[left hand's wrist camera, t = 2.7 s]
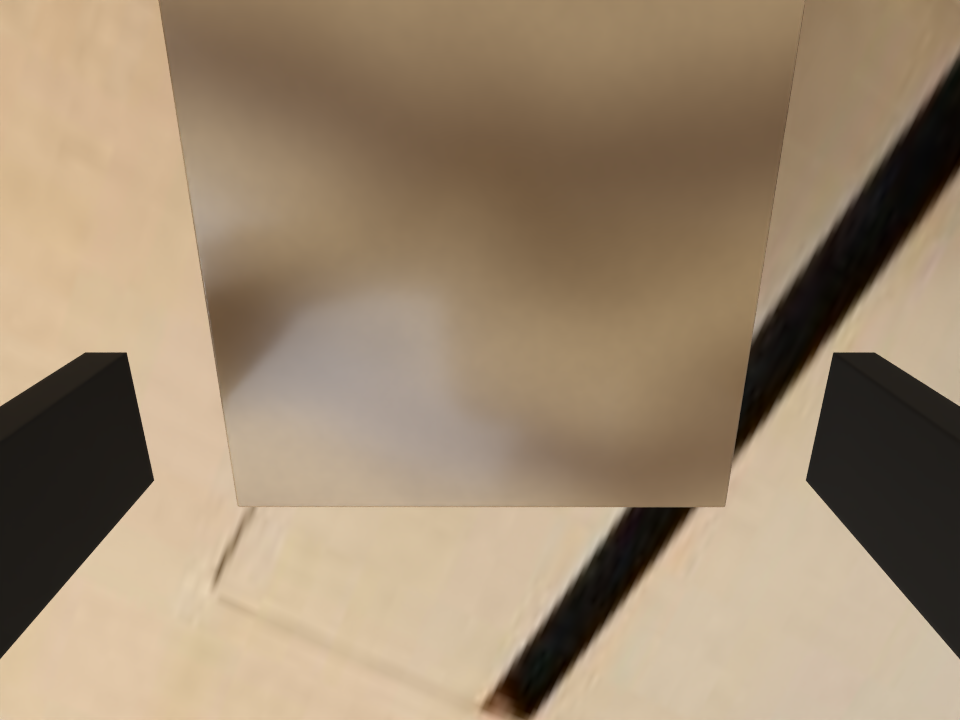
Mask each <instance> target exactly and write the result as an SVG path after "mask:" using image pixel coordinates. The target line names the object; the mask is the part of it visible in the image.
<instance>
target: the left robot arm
mask: <svg viewBox="0 0 960 720" xmlns="http://www.w3.org/2000/svg"><path fill="white" fill-rule="evenodd" d="M153 481H154V478H153V473H152V468H151V464H150V459H149V454H148V450H147V445H146V441H145V436H144V431H143V427H142V422H141V417H140V413H139V408H138V403H137V399H136V394H135V389H134V385H133V380H132V375H131V371H130V366H129V362H128V357H127V353H84V354H82V355H81V356H79V357H78V358H76V359H74V360H73V361H71V362H70V363H68V364H67V365H65V366H63V367H62V368H60V369H59V370H57V371H55V372H54V373H52V374H51V375H49V376H48V377H46V378H44V379H43V380H41V381H40V382H38V383H37V384H35V385H33V386H32V387H30V388H29V389H27V390H26V391H24V392H22V393H21V394H19V395H18V396H16V397H14V398H13V399H11V400H10V401H8V402H7V403H5V404H3V405H2V406H0V659H1V657H2V656H3V655H4V654H5V653H6V652H7V650H8V649H9V648H10V647H11V646H12V645H13V644H14V642H15V641H16V640H17V639H18V638H19V637H20V635H21V634H22V633H23V632H24V631H25V630H26V628H27V627H28V626H29V625H30V624H31V623H32V621H33V620H34V619H35V618H36V617H37V616H38V615H39V613H40V612H41V611H42V610H43V609H44V608H45V606H46V605H47V604H48V603H49V602H50V601H51V599H52V598H53V597H54V596H55V595H56V594H57V592H58V591H59V590H60V589H61V588H62V587H63V586H64V584H65V583H66V582H67V581H68V580H69V579H70V577H71V576H72V575H73V574H74V573H75V572H76V570H77V569H78V568H79V567H80V566H81V565H82V563H83V562H84V561H85V560H86V559H87V558H88V557H89V555H90V554H91V553H92V552H93V551H94V550H95V548H96V547H97V546H98V545H99V544H100V543H101V541H102V540H103V539H104V538H105V537H106V536H107V534H108V533H109V532H110V531H111V530H112V529H113V528H114V526H115V525H116V524H117V523H118V522H119V521H120V519H121V518H122V517H123V516H124V515H125V514H126V512H127V511H128V510H129V509H130V508H131V507H132V505H133V504H134V503H135V502H136V501H137V500H138V499H139V497H140V496H141V495H142V494H143V493H144V492H145V490H146V489H147V488H148V487H149V486H150V485H151V483H152V482H153ZM806 481H807V482H808V483H809V485H810V486H811V487H812V488H813V489H814V490H815V492H816V493H817V494H818V495H819V496H820V497H821V499H822V500H823V501H824V502H825V503H826V504H827V505H828V507H829V508H830V509H831V510H832V511H833V512H834V514H835V515H836V516H837V517H838V518H839V519H840V521H841V522H842V523H843V524H844V525H845V526H846V528H847V529H848V530H849V531H850V532H851V533H852V534H853V536H854V537H855V538H856V539H857V540H858V541H859V543H860V544H861V545H862V546H863V547H864V548H865V550H866V551H867V552H868V553H869V554H870V555H871V557H872V558H873V559H874V560H875V561H876V562H877V563H878V565H879V566H880V567H881V568H882V569H883V570H884V572H885V573H886V574H887V575H888V576H889V577H890V579H891V580H892V581H893V582H894V583H895V584H896V586H897V587H898V588H899V589H900V590H901V591H902V592H903V594H904V595H905V596H906V597H907V598H908V599H909V601H910V602H911V603H912V604H913V605H914V606H915V608H916V609H917V610H918V611H919V612H920V613H921V615H922V616H923V617H924V618H925V619H926V620H927V621H928V623H929V624H930V625H931V626H932V627H933V628H934V630H935V631H936V632H937V633H938V634H939V635H940V637H941V638H942V639H943V640H944V641H945V642H946V644H947V645H948V646H949V647H950V648H951V649H952V650H953V652H954V653H955V654H956V655H957V656H958V657H959V659H960V406H958V405H957V404H955V403H953V402H952V401H950V400H949V399H947V398H946V397H944V396H942V395H941V394H939V393H938V392H936V391H934V390H933V389H931V388H930V387H928V386H927V385H925V384H923V383H922V382H920V381H919V380H917V379H916V378H914V377H912V376H911V375H909V374H908V373H906V372H905V371H903V370H901V369H900V368H898V367H897V366H895V365H893V364H892V363H890V362H889V361H887V360H886V359H884V358H882V357H881V356H879V355H878V354H876V353H833V357H832V362H831V366H830V371H829V375H828V380H827V385H826V389H825V394H824V399H823V403H822V408H821V413H820V417H819V422H818V427H817V431H816V436H815V441H814V445H813V450H812V454H811V459H810V464H809V468H808V473H807V478H806Z"/></svg>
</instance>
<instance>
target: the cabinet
mask: <svg viewBox="0 0 960 720" xmlns="http://www.w3.org/2000/svg"><path fill="white" fill-rule="evenodd" d="M159 6H160V12H161V19H162V25H163V31H164V38H165V44H166V51H167V57H168V63H169V70H170V76H171V83H172V89H173V95H174V102H175V108H176V115H177V121H178V127H179V134H180V140H181V146H182V153H183V159H184V166H185V172H186V178H187V185H188V191H189V198H190V204H191V210H192V217H193V223H194V230H195V236H196V242H197V249H198V255H199V261H200V268H201V274H202V281H203V287H204V293H205V300H206V306H207V313H208V319H209V325H210V332H211V338H212V345H213V351H214V357H215V364H216V370H217V376H218V383H219V389H220V396H221V402H222V408H223V415H224V421H225V428H226V434H227V440H228V447H229V453H230V459H231V466H232V472H233V479H234V485H235V491H236V498H237V504H238V506H239V507H725V504H726V498H727V491H728V485H729V479H730V473H731V466H732V460H733V454H734V447H735V441H736V435H737V428H738V422H739V416H740V409H741V403H742V397H743V391H744V384H745V378H746V372H747V365H748V359H749V353H750V346H751V340H752V334H753V327H754V321H755V315H756V309H757V302H758V296H759V290H760V283H761V277H762V271H763V264H764V258H765V252H766V245H767V239H768V233H769V227H770V220H771V214H772V208H773V201H774V195H775V189H776V182H777V176H778V170H779V163H780V157H781V151H782V145H783V138H784V132H785V126H786V119H787V113H788V107H789V100H790V94H791V88H792V81H793V75H794V69H795V63H796V56H797V50H798V44H799V37H800V31H801V25H802V18H803V12H804V6H805V0H159Z"/></svg>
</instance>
